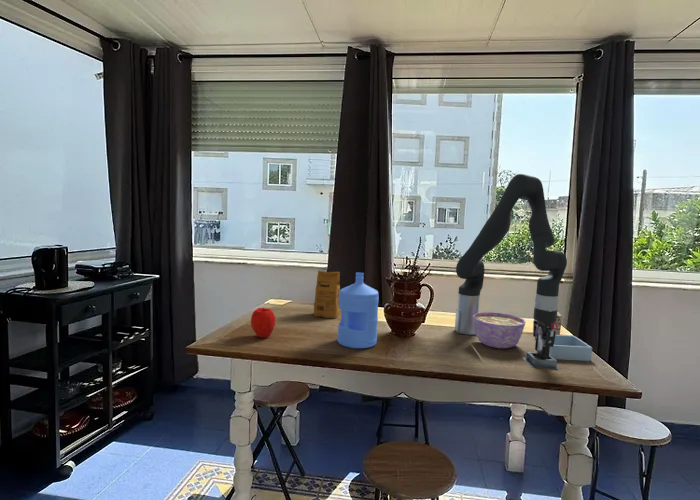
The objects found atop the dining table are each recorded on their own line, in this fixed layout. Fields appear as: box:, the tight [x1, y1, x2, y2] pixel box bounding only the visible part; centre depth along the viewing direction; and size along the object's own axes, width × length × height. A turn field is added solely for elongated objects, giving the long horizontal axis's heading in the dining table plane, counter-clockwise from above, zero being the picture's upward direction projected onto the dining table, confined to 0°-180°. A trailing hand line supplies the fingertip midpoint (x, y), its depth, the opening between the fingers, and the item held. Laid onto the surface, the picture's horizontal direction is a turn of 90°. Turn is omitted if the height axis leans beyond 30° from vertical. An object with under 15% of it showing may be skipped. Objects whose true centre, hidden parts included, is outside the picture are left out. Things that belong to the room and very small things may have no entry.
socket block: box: [521, 351, 562, 370], centre depth 153 cm, size 10×10×4 cm
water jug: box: [337, 271, 379, 350], centre depth 169 cm, size 16×16×28 cm
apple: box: [250, 307, 276, 339], centre depth 173 cm, size 10×10×12 cm
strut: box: [535, 328, 548, 359], centre depth 153 cm, size 4×4×14 cm
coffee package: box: [313, 269, 341, 319], centre depth 208 cm, size 10×12×22 cm
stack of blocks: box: [533, 312, 563, 335], centre depth 190 cm, size 21×6×12 cm, turn 168°
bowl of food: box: [473, 311, 527, 349], centre depth 172 cm, size 20×20×12 cm
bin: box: [549, 334, 593, 362], centre depth 165 cm, size 14×14×6 cm
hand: (541, 353), depth 153 cm, fingers open, 5 cm apart
